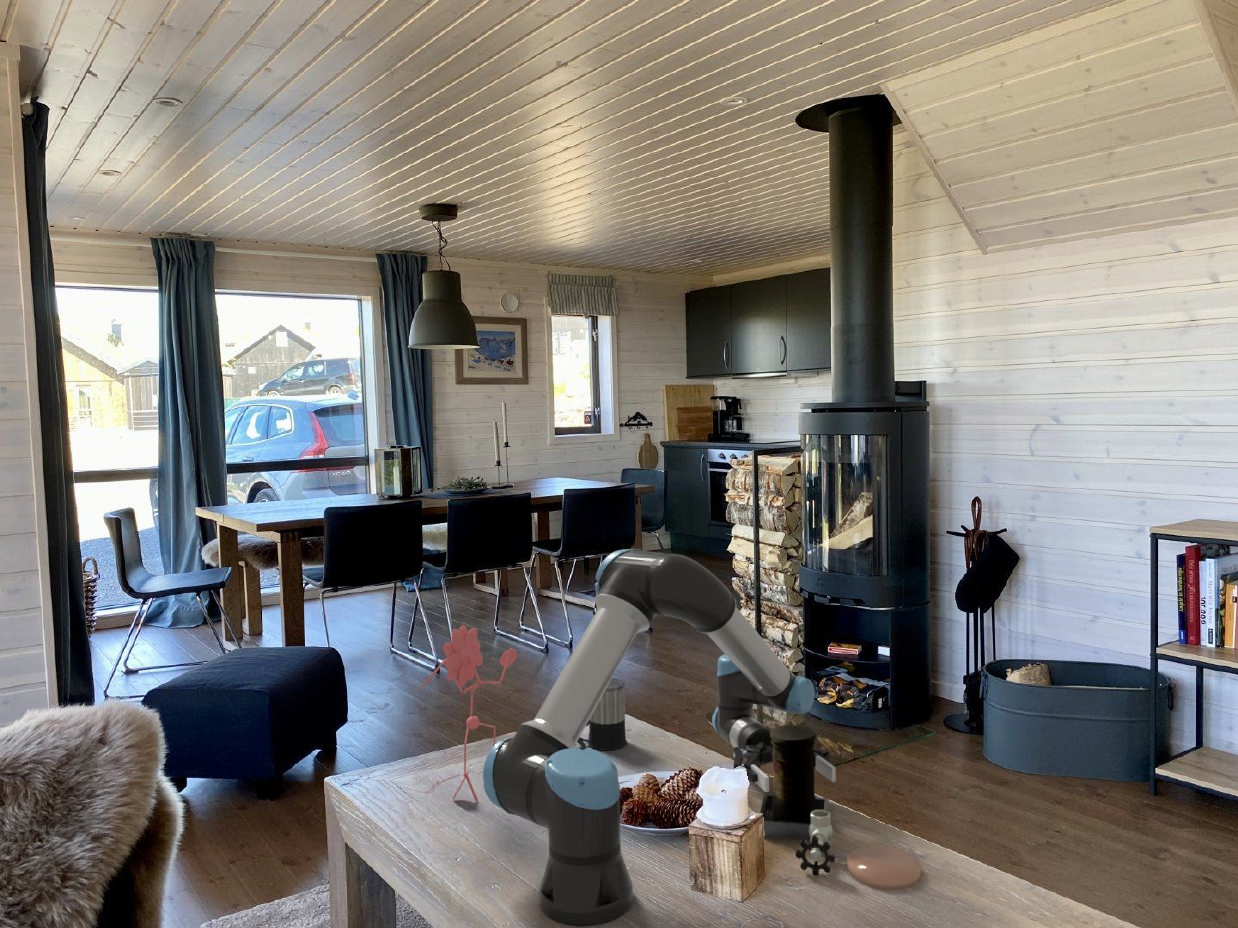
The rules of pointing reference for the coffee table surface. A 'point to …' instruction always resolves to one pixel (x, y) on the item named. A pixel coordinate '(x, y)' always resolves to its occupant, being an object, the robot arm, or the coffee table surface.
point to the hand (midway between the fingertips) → (800, 779)
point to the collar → (788, 828)
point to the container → (793, 773)
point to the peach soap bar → (884, 867)
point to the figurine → (468, 675)
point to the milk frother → (608, 719)
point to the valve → (818, 842)
